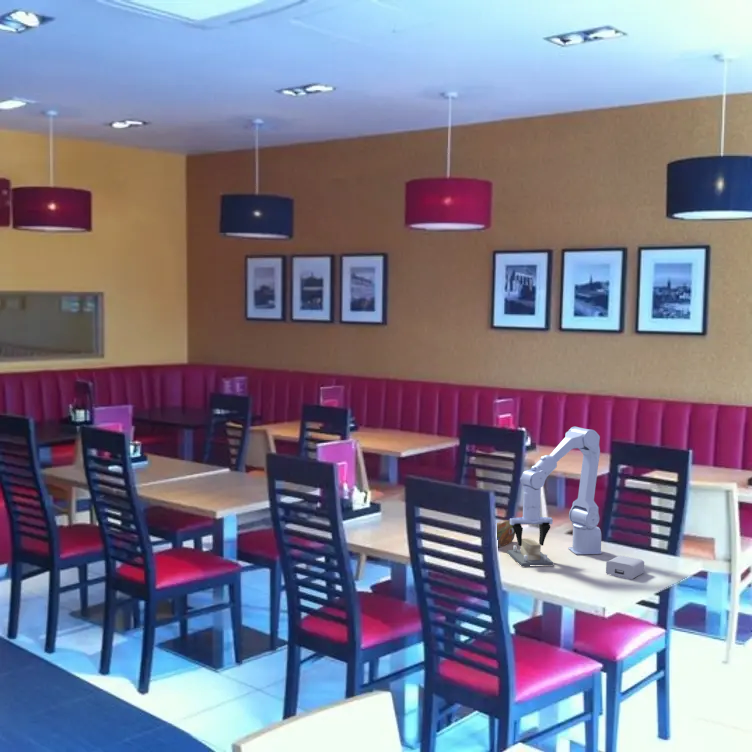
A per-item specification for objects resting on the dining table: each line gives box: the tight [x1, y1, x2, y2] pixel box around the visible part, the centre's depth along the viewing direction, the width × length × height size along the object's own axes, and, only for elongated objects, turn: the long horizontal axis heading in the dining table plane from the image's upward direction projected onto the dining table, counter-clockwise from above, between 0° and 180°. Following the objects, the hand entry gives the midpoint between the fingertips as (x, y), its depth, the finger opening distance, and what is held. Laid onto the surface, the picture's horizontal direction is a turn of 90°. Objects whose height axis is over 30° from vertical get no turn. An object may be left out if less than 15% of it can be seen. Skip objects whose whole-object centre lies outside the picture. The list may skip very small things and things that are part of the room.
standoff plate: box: [506, 545, 554, 567], centre depth 315 cm, size 11×16×3 cm
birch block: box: [520, 537, 542, 560], centre depth 315 cm, size 4×9×5 cm, turn 9°
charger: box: [605, 555, 645, 580], centre depth 303 cm, size 5×9×15 cm
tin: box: [496, 519, 516, 548], centre depth 334 cm, size 15×3×8 cm, turn 143°
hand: (530, 545), depth 315 cm, fingers open, 7 cm apart
